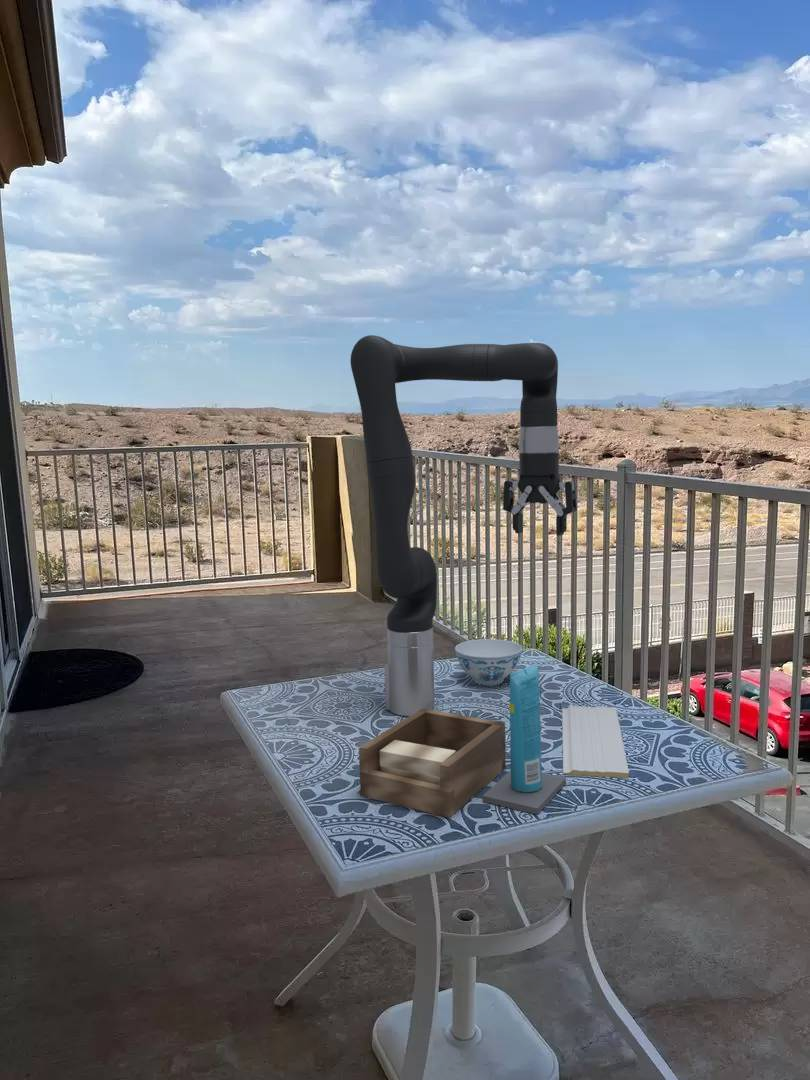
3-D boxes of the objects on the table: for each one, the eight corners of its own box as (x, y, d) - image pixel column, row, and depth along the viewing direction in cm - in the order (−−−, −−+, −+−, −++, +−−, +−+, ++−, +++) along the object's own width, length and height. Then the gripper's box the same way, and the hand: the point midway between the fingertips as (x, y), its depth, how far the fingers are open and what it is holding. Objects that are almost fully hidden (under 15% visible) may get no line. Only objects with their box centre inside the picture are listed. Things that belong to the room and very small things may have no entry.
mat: (482, 801, 127) (482, 795, 127) (514, 772, 137) (514, 767, 137) (537, 814, 122) (537, 808, 122) (565, 783, 133) (565, 777, 132)
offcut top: (380, 765, 130) (379, 750, 130) (395, 754, 135) (394, 739, 134) (442, 778, 125) (442, 762, 125) (456, 765, 130) (456, 750, 129)
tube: (523, 774, 134) (522, 660, 131) (550, 781, 131) (550, 664, 128) (500, 791, 128) (499, 672, 125) (528, 799, 125) (527, 677, 123)
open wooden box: (360, 795, 130) (358, 747, 129) (423, 751, 147) (422, 708, 146) (449, 818, 122) (448, 766, 121) (505, 768, 139) (505, 722, 138)
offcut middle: (381, 781, 131) (380, 766, 130) (396, 769, 135) (396, 754, 135) (443, 794, 125) (443, 778, 125) (457, 781, 130) (457, 766, 129)
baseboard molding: (554, 777, 136) (628, 782, 134) (554, 760, 136) (629, 765, 134) (554, 712, 167) (616, 715, 164) (555, 698, 166) (616, 701, 164)
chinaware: (529, 674, 191) (528, 641, 190) (513, 694, 177) (513, 659, 176) (467, 668, 196) (466, 637, 195) (447, 687, 182) (446, 654, 181)
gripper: (496, 451, 159) (497, 535, 161) (567, 451, 151) (567, 538, 153) (512, 449, 165) (513, 530, 167) (581, 449, 158) (581, 533, 160)
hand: (539, 534), depth 160 cm, fingers open, 8 cm apart
